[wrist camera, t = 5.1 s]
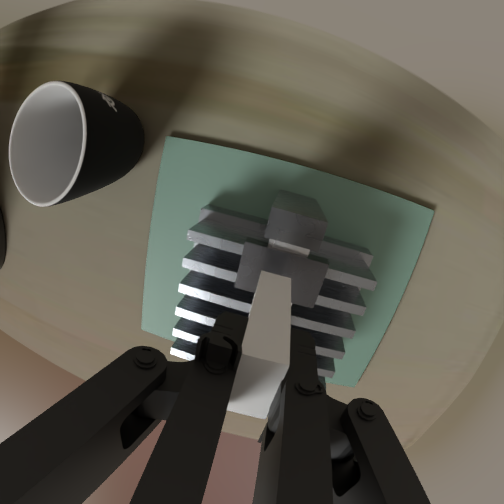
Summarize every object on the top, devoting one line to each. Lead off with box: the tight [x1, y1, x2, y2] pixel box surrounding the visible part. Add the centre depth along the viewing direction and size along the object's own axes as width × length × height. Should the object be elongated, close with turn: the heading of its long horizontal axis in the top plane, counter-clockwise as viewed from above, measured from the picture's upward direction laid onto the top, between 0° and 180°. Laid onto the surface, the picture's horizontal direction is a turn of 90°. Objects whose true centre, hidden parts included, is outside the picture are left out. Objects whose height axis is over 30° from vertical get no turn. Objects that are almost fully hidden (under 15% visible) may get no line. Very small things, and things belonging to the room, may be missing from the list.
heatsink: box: [171, 189, 377, 417], centre depth 22 cm, size 14×16×9 cm
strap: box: [234, 237, 329, 317], centre depth 20 cm, size 5×14×1 cm, turn 166°
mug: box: [9, 81, 144, 207], centre depth 20 cm, size 12×9×10 cm
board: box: [141, 136, 434, 387], centre depth 26 cm, size 24×20×1 cm
